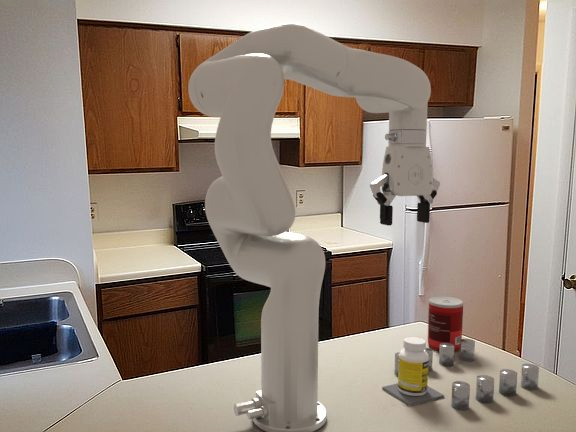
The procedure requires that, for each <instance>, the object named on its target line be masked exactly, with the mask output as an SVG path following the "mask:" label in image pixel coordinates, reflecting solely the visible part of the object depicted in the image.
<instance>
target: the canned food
mask: <svg viewBox="0 0 576 432" xmlns="http://www.w3.org/2000/svg"><path fill="white" fill-rule="evenodd" d="M463 316H464V301H463V300H462V299H459V298H457V297H453V296H444V295H443V296H433V297H431V298H429V300H428V316H427V317H428V318H427V319H428V322H427V345H428V348H430V349H432V350H434V351H437V352H439V351H440V344H441V343H450V344H453V345H454V353H455V352H458V351H460V340H461V339H463V320H464V317H463Z"/></svg>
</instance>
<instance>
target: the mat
mask: <svg viewBox="0 0 576 432" xmlns="http://www.w3.org/2000/svg"><path fill="white" fill-rule="evenodd" d="M381 389H382V390H383V391H385V392H387V394H390V395H391V396H392V397H394V398H396V399H398V400H399V401H401V402H403V403H404V404H406V406H408V407H412V406H416V405H421V404H423V403H427V402H432V401H435V400H439V399H442V398H445V395H444V394H443V393H441V392H439V391H437V390H436V389H434V388H432V387H430V386H428V385H427V392H426V394H424V395H422V396H409V395H405V394H403V393H401V392H400V391H399V390H398V382H397V383H393V384H389V385H386V386H382V387H381Z"/></svg>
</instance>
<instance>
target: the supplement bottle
mask: <svg viewBox="0 0 576 432" xmlns="http://www.w3.org/2000/svg"><path fill="white" fill-rule="evenodd" d="M426 344H427V343H426V339H424V338H421V337H418V336H417V337H416V336H408V337H405V338H403V348H402V349H401V350H400V351H399V352H400V353H399V372H398V376H397V383H398V390H399V391H400V392H401V393H403V394H405V395H409V396H422V395H424V394H426V392H427V386H428V383H429V371H428V366H429V356H428V354H427V352H425V351H424V350H425V348H427V347H426Z"/></svg>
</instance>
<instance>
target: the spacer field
mask: <svg viewBox="0 0 576 432" xmlns="http://www.w3.org/2000/svg"><path fill="white" fill-rule="evenodd" d="M475 346H476V341H475V340H473V339H470V338H462V339H461V340H460V349H459V359H460V360H461V361H465V362H473V361H475V348H476V347H475ZM433 350H434V349H432V348H430V347H426V348H425V350H424V351H425V352H427V354H428V356H429V366H428V372H431V371H432V370H433V355H434V354H433V353H434V352H433ZM438 352H439V354H438V355H439V357H438V363H439V365H441V366H445V367H452V366H454V365H455V364H454V363H455V361H454V360H455V352H454V345H453V344H450V343H441V344H440V351H438ZM399 353H400V351H398V352H395V353H394V375H395V376H397V377H398V372H399ZM539 374H540V367H539V366H538V365H537V364H533V363H522V364H521V376H520V387H521V388H523V389H526V390H529V391H535V390H538V389H539V376H540V375H539ZM475 384H476V386H475V399H476V401H478V402H480V403H483V404H491V403H493V402H494V391H495V378H494V377H493V376H490V375H488V374H487V375H485V374H480V375H479V374H478V375H477V376H476V383H475ZM517 385H518V371H515V370H513V369H507V368H503V369H500V370H499V384H498V386H499V387H498V392H499V394H500V395H502V396H505V397H515V396H516V395H517V389H518V388H517ZM470 392H471V385H470V383H468V382H466V381H463V380H456V381H453V382H452V384H451V402H450V403H451V404H450V405H451V407H452V409H453V408H454V409H455V410H458V411H467V410H469V409H470Z"/></svg>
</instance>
